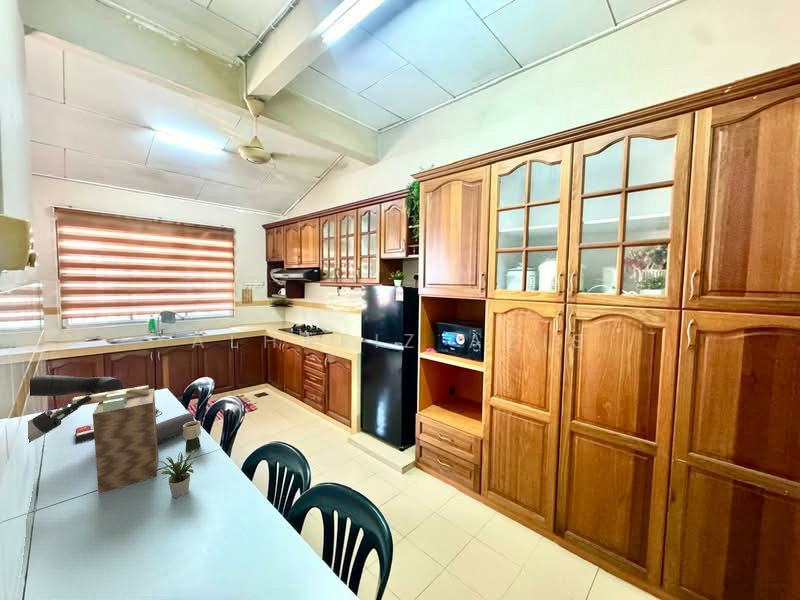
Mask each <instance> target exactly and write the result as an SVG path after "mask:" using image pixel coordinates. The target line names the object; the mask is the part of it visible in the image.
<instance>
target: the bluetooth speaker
mask: <svg viewBox="0 0 800 600" xmlns="http://www.w3.org/2000/svg"><path fill="white" fill-rule="evenodd" d="M192 421H195V418H194V415H193V414H192V413H191V412H188V413H184V414H181V415H178V416H175V417H172V418H169V419H166V420H164V421H160V422H158V423H156V428H157V445H159V444H162V443H165V442H168V441H170V440H172V439H175V438H177V437H179V436H180V435H181V433H182V434H183V425H184V424H186V423H188V422H192Z"/></svg>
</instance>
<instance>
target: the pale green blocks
mask: <svg viewBox="0 0 800 600" xmlns="http://www.w3.org/2000/svg"><path fill="white" fill-rule="evenodd" d="M126 400H127V393H126V392H120V393H114V394H108V395H107V396H106V401H104V402H103V412H106V411H112V410H117V409H122V408H124V406H125V405H124V402H126Z"/></svg>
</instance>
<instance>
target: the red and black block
mask: <svg viewBox="0 0 800 600" xmlns="http://www.w3.org/2000/svg"><path fill="white" fill-rule="evenodd" d="M74 437H75V443H76V444H78V443H83V442H85V441H88V440H93V439H94V426H93V423H92V424H90V425H84V426H79V427H76V429H75V436H74Z"/></svg>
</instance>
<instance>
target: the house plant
mask: <svg viewBox="0 0 800 600" xmlns="http://www.w3.org/2000/svg"><path fill="white" fill-rule="evenodd" d="M195 451H197V450H196V449H195V450H194V451H190V453H189V454H188V456H187V454H185V455H184V456H183V453H182V452H183V451H179V453H178V456H177V457H178V458H177V461H176V462H174V460H173V458H172V457H170V456H167V457H165V458H166V460H167V461H168V462H169V464H170V465H168V464H167V463H166V462H164V461H162V460H158V461H154V462H158V463H162V464H164V465H165V466H163V467H161V468H160V469H159V471H160V470H163V471H162V472H161V473H160V475H169V476H168V483H167V484H168V486H169V490H170V494H171V497H172V498H174V499H177V498H178V499H179V498H182V497H184V496H185V495H187V494H188V493H189V489H190V481H191V473H192V474H194V472H195V471H194V469H193V467H192V465H193V464H194V461H192V462H190V461H191V460H193V459H194V458H196V456H194V457H192V455H193V453H194V452H195ZM186 456H187V457H186ZM185 457H186V458H185ZM191 457H192V458H191ZM183 458H185V460H184V462H183ZM188 462H190V463H188ZM168 468H169V469H168ZM190 468H191V469H190ZM166 478H167V476H166V477H163V478H162V479H163V480H164V479H166Z"/></svg>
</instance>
